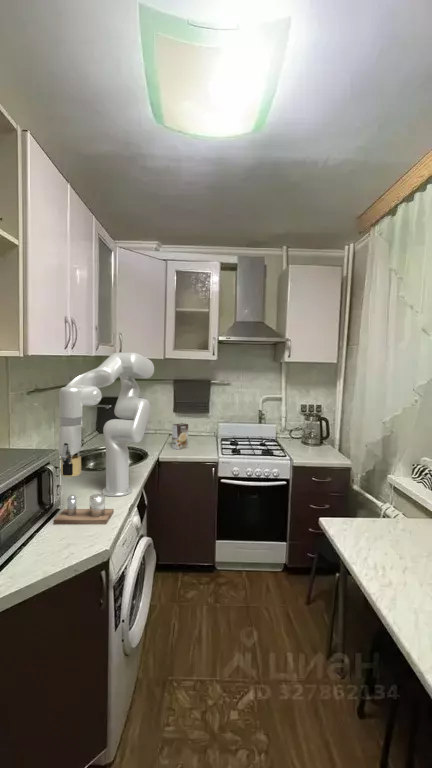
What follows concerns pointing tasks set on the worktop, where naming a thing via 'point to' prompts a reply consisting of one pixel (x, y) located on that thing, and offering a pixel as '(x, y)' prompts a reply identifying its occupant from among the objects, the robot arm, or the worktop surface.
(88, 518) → the pipe board
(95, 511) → the pair of light bulbs
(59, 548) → the worktop surface
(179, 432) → the coffee box
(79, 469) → the brass coupling
